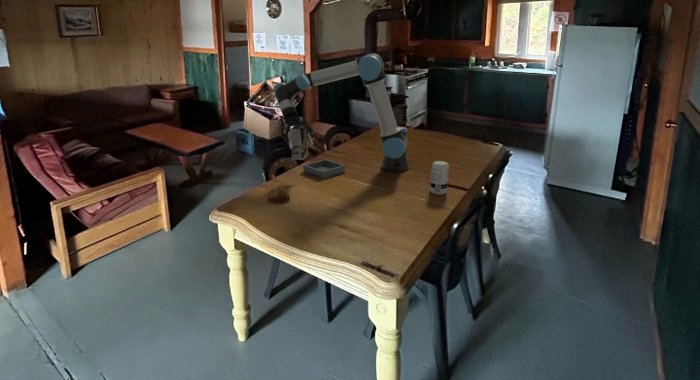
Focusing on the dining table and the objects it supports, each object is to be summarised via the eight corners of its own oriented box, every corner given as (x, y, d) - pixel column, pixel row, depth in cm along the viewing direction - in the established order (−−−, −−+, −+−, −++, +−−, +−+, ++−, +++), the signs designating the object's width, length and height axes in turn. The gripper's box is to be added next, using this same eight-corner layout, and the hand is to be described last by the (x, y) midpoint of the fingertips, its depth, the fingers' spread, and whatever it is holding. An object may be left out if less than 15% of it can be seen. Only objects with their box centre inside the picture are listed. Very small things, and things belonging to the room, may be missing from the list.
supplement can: (428, 189, 248) (430, 160, 242) (444, 188, 248) (446, 160, 243) (432, 195, 240) (434, 165, 235) (448, 194, 241) (451, 165, 236)
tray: (344, 172, 271) (344, 165, 270) (322, 179, 261) (322, 172, 259) (325, 165, 282) (325, 159, 281) (303, 172, 272) (303, 165, 270)
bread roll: (281, 202, 241) (275, 187, 240) (296, 198, 234) (290, 182, 233) (267, 209, 233) (261, 193, 232) (282, 204, 227) (275, 188, 226)
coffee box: (303, 160, 252) (302, 129, 246) (291, 159, 253) (290, 128, 247) (308, 155, 260) (307, 124, 255) (296, 154, 262) (295, 124, 256)
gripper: (306, 111, 267) (320, 147, 260) (266, 116, 257) (279, 153, 250) (310, 103, 261) (324, 139, 254) (269, 108, 251) (282, 145, 244)
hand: (302, 146), depth 252 cm, fingers closed on coffee box, 10 cm apart
